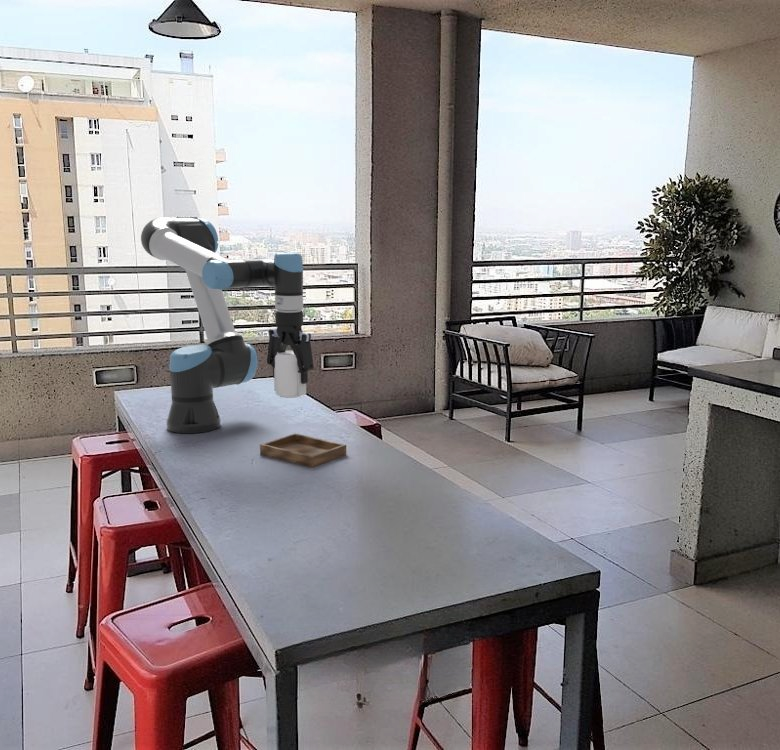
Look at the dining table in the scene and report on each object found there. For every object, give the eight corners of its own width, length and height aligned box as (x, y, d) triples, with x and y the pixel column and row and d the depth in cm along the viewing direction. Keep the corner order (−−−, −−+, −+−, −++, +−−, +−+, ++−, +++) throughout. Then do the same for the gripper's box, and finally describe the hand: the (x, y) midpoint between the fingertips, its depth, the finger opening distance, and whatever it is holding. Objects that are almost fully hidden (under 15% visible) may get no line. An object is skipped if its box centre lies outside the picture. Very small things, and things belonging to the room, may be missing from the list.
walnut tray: (260, 454, 191) (259, 444, 190) (295, 442, 201) (295, 433, 200) (312, 467, 180) (311, 457, 180) (346, 454, 190) (346, 444, 190)
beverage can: (307, 392, 208) (307, 350, 206) (301, 399, 201) (301, 355, 198) (279, 391, 209) (278, 349, 207) (272, 398, 201) (271, 354, 199)
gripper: (252, 308, 203) (253, 389, 208) (308, 315, 191) (308, 400, 196) (271, 306, 209) (273, 384, 214) (327, 312, 197) (327, 395, 202)
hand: (290, 392), depth 205 cm, fingers closed on beverage can, 8 cm apart
